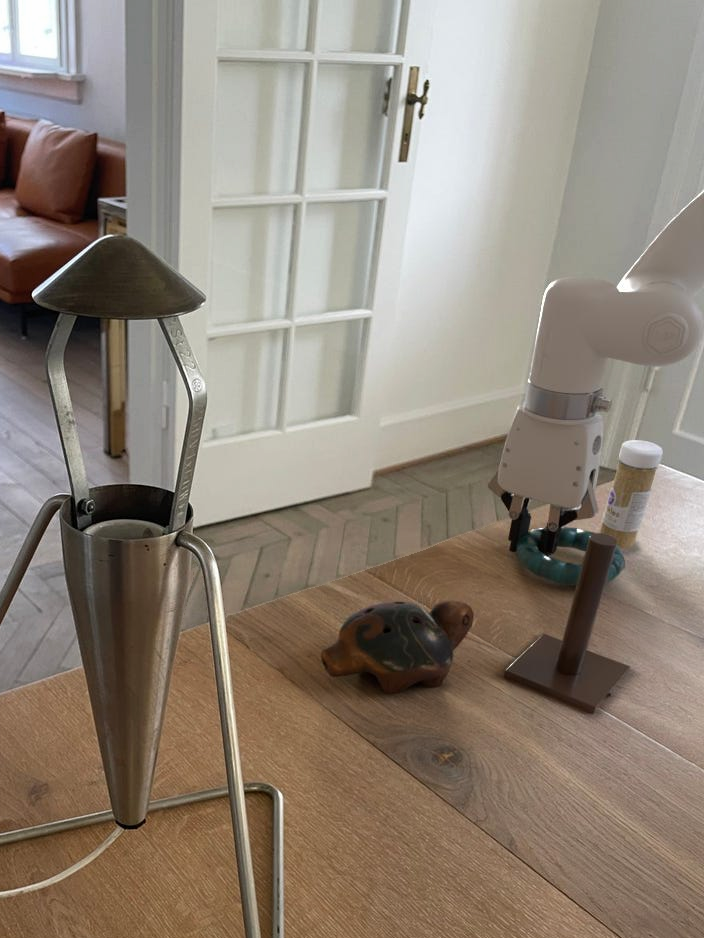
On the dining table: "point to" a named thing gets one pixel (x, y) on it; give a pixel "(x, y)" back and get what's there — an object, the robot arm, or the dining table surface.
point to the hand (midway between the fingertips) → (530, 551)
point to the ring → (557, 568)
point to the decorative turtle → (400, 643)
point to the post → (575, 642)
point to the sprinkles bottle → (630, 491)
